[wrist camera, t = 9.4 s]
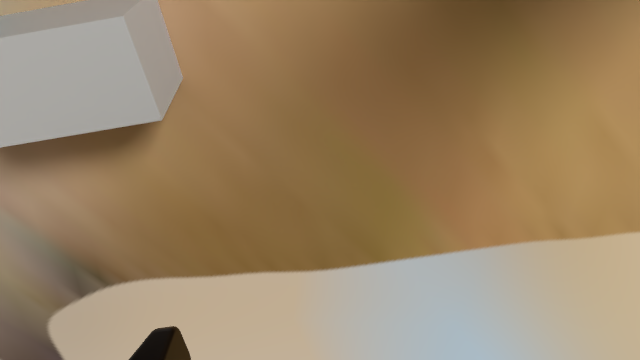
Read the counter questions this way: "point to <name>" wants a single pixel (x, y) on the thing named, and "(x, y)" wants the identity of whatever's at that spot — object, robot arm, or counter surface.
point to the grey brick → (84, 69)
